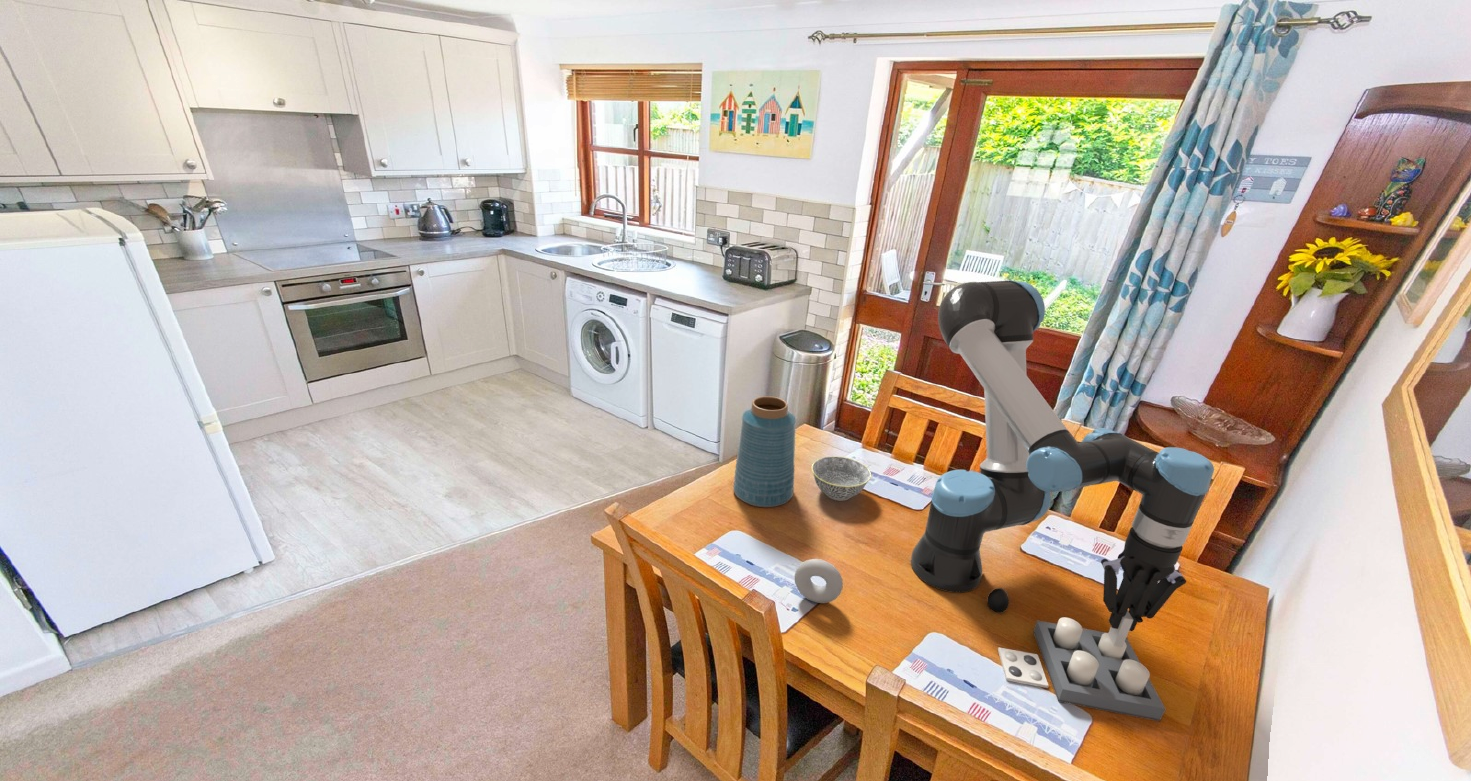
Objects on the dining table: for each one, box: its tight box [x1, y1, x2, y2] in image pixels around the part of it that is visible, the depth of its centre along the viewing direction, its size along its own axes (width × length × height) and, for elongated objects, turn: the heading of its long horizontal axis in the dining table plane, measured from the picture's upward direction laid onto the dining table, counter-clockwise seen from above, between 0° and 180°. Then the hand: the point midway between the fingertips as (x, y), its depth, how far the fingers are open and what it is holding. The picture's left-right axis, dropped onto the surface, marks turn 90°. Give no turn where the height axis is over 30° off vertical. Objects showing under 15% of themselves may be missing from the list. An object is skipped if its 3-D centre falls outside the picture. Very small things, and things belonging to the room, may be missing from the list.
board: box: [1032, 620, 1166, 722], centre depth 105 cm, size 16×16×3 cm
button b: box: [1115, 659, 1151, 696], centre depth 99 cm, size 4×4×4 cm
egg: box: [986, 587, 1010, 614], centre depth 118 cm, size 4×4×5 cm
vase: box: [732, 395, 797, 508], centre depth 150 cm, size 16×16×27 cm
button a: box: [1067, 650, 1099, 686], centre depth 101 cm, size 4×4×4 cm
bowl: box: [810, 455, 872, 502], centre depth 155 cm, size 16×16×8 cm
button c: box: [1053, 616, 1084, 650], centre depth 108 cm, size 4×4×4 cm
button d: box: [1098, 632, 1127, 659], centre depth 107 cm, size 4×4×4 cm
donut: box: [794, 558, 844, 604], centre depth 117 cm, size 10×4×10 cm, turn 71°
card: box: [997, 647, 1049, 689], centre depth 105 cm, size 7×7×1 cm
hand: (1115, 640), depth 106 cm, fingers closed
